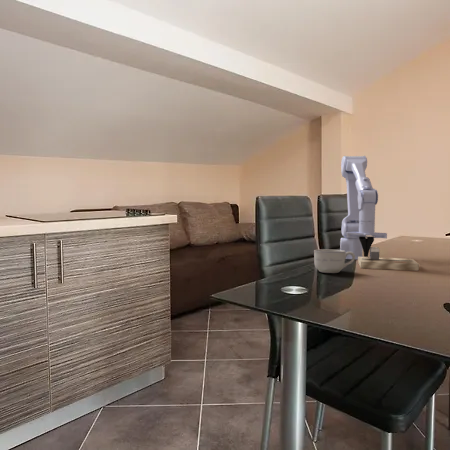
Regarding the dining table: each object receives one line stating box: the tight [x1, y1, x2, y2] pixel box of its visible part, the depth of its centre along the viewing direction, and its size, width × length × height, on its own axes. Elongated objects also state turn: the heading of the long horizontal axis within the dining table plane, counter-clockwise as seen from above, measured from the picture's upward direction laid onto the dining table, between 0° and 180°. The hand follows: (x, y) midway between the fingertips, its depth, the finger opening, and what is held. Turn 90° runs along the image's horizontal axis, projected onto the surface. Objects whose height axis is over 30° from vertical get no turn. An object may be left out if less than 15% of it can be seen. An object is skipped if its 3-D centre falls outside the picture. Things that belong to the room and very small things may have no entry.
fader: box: [369, 246, 381, 260], centre depth 154 cm, size 3×4×4 cm
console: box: [357, 256, 420, 271], centre depth 154 cm, size 20×12×3 cm, turn 76°
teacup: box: [313, 248, 356, 274], centre depth 142 cm, size 14×11×8 cm
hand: (365, 256), depth 155 cm, fingers closed
